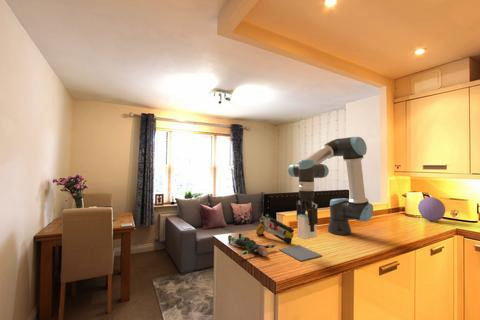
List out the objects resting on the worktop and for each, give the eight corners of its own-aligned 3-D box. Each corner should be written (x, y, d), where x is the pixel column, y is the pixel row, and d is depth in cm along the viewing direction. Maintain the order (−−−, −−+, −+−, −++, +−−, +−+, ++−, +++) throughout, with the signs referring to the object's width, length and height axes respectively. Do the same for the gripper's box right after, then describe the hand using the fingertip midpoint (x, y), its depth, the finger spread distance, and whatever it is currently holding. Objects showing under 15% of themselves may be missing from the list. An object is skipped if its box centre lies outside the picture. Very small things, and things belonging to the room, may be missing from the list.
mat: (299, 246, 130) (299, 245, 130) (322, 256, 115) (322, 255, 115) (279, 250, 124) (279, 248, 124) (300, 261, 108) (300, 260, 108)
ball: (445, 225, 176) (444, 199, 177) (417, 221, 188) (416, 197, 188) (445, 221, 189) (445, 197, 189) (419, 218, 200) (419, 195, 201)
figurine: (215, 245, 131) (245, 266, 106) (215, 235, 131) (245, 253, 106) (251, 238, 145) (285, 255, 120) (251, 228, 145) (285, 243, 120)
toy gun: (258, 231, 154) (262, 210, 152) (290, 251, 136) (295, 228, 134) (254, 232, 151) (258, 211, 149) (286, 253, 133) (291, 229, 131)
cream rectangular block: (309, 234, 119) (309, 213, 119) (316, 237, 114) (316, 215, 114) (297, 236, 115) (297, 214, 115) (304, 239, 111) (304, 216, 111)
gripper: (289, 188, 122) (289, 232, 121) (314, 192, 106) (314, 242, 105) (300, 188, 125) (300, 231, 124) (325, 191, 109) (326, 240, 108)
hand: (306, 236), depth 114 cm, fingers closed on cream rectangular block, 5 cm apart
